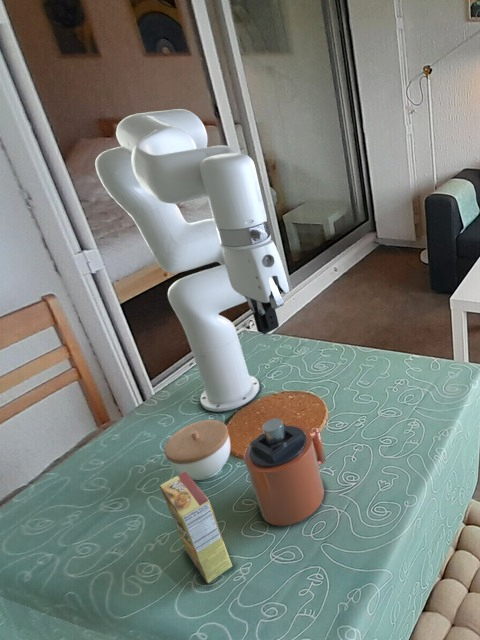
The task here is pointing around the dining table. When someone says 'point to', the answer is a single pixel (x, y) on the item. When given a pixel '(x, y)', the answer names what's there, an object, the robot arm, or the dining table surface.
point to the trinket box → (199, 449)
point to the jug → (287, 475)
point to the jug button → (274, 431)
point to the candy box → (196, 525)
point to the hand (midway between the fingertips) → (268, 329)
